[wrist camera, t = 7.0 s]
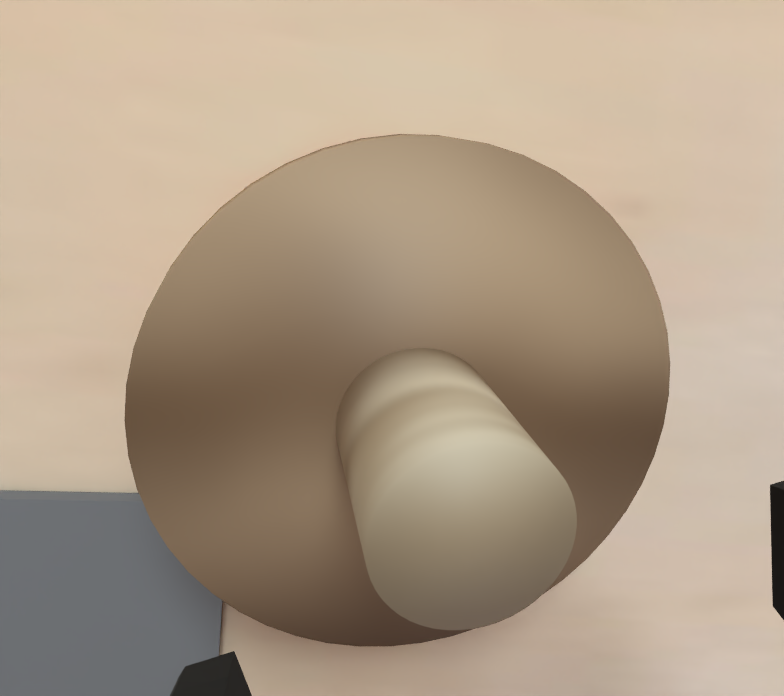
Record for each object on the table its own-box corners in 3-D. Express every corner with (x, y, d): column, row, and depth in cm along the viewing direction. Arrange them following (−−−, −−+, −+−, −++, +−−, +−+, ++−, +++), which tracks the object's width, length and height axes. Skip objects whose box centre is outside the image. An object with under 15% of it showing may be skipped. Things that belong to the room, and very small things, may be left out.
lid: (628, 584, 17) (758, 751, 13) (175, 655, 16) (140, 878, 11) (674, 121, 14) (878, 130, 9) (83, 148, 12) (-23, 174, 7)
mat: (209, 800, 22) (208, 812, 21) (-193, 829, 19) (-202, 843, 19) (229, 494, 18) (228, 502, 18) (-254, 485, 16) (-266, 494, 16)
